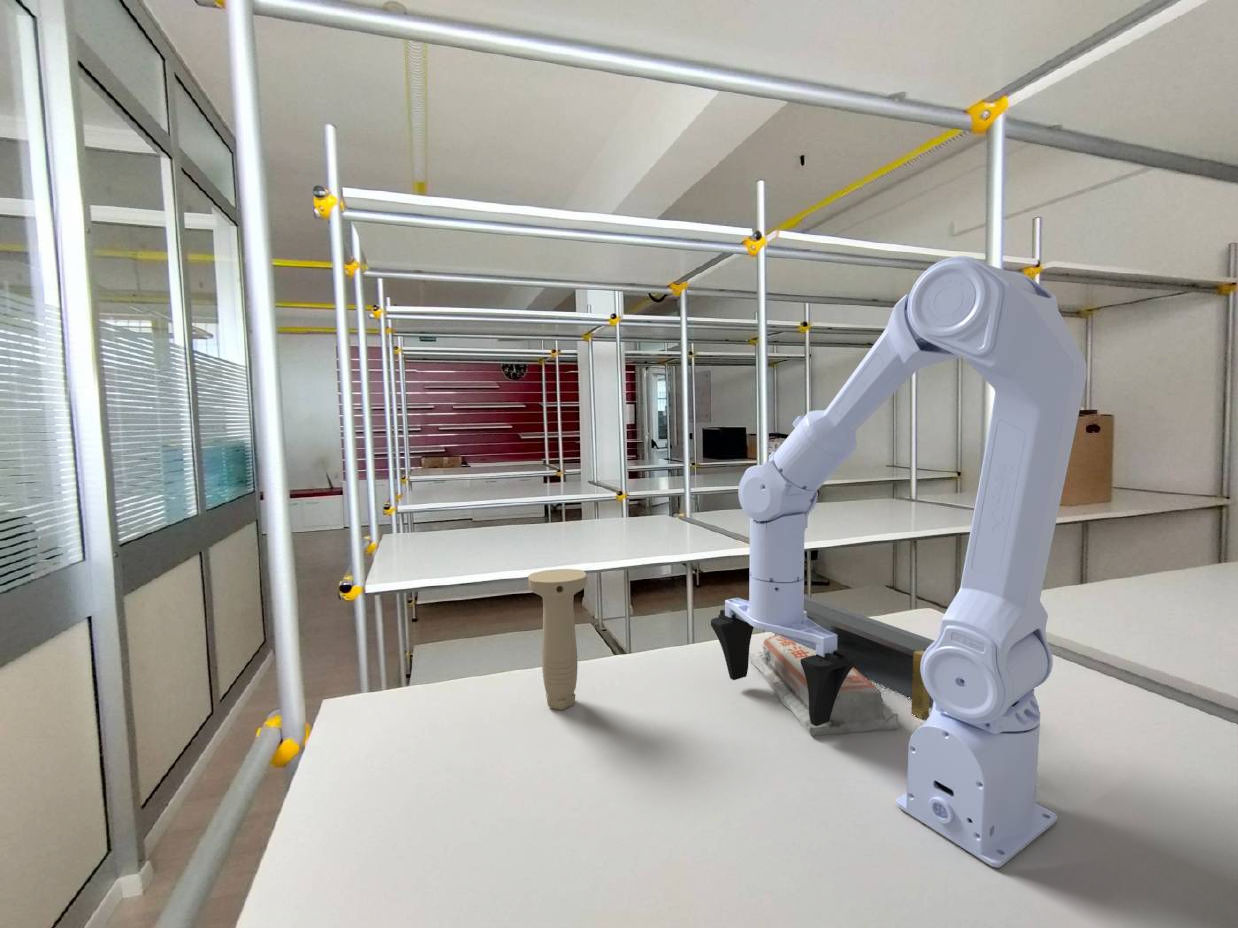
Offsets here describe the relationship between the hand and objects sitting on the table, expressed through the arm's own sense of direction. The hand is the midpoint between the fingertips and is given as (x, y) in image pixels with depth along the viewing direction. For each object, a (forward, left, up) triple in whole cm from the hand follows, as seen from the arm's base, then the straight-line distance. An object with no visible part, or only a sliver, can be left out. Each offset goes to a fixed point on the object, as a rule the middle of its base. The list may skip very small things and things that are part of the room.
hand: (775, 697), depth 63 cm
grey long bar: (+14, +1, -1) cm, 14 cm away
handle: (-19, +14, -2) cm, 24 cm away
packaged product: (+7, +1, -2) cm, 7 cm away
